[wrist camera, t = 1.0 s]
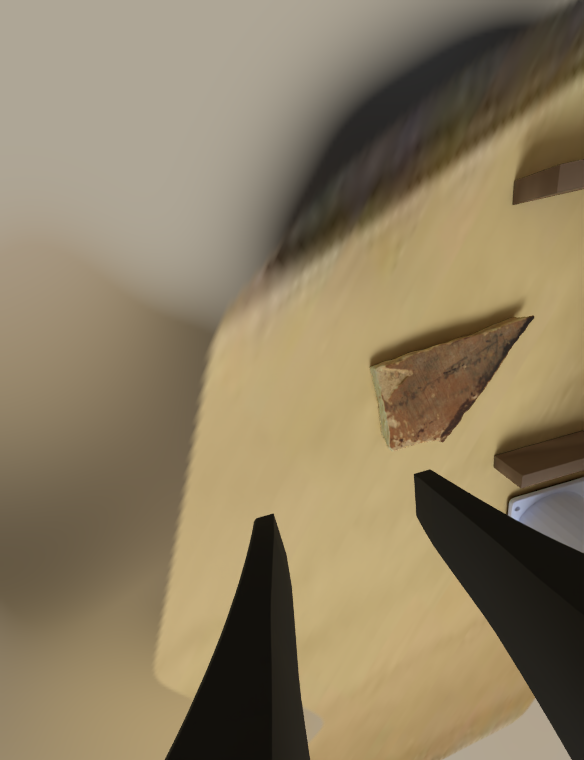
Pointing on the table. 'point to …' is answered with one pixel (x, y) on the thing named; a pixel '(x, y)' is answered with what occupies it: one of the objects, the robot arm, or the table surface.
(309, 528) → the table surface
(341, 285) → the table surface
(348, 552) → the table surface
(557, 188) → the frame
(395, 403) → the shard
